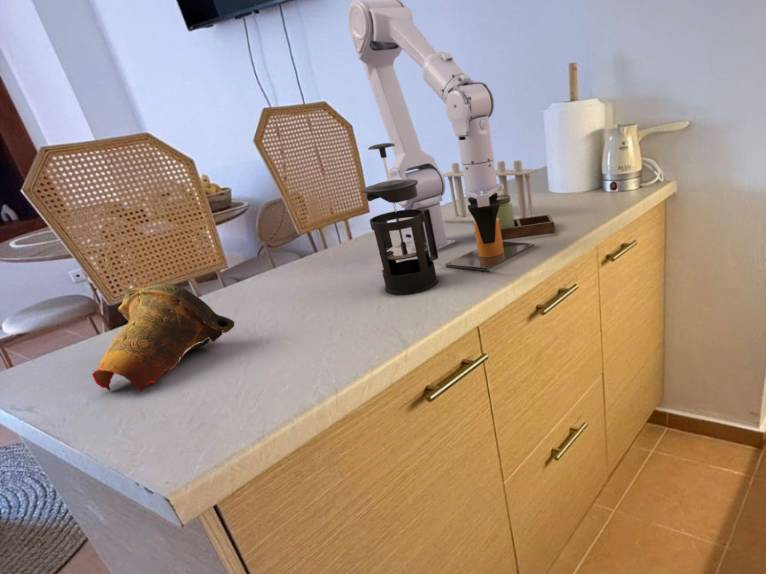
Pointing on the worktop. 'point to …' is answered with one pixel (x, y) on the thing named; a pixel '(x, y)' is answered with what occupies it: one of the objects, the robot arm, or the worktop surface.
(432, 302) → the worktop surface
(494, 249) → the honey jar
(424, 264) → the french press
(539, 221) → the jar stand
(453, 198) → the test tube rack
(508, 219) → the sage jar
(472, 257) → the slate board
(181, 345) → the pot
